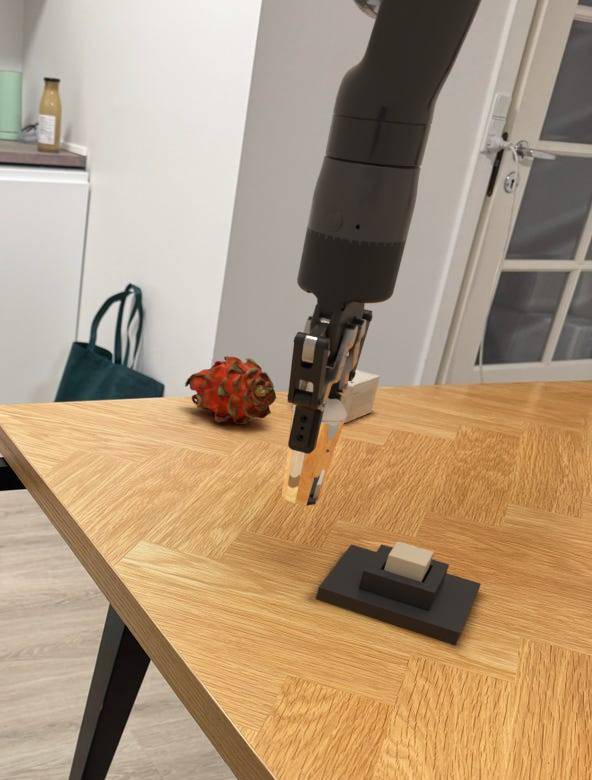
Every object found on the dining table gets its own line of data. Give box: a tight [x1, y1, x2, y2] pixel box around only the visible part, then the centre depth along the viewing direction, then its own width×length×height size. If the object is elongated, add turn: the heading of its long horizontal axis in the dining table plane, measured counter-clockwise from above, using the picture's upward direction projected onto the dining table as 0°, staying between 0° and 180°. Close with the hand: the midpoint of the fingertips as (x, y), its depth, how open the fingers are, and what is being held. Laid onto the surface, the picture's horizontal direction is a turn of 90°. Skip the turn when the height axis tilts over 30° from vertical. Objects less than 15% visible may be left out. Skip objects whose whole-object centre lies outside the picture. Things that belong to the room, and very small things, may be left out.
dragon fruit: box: [183, 355, 277, 425], centre depth 112 cm, size 8×8×12 cm
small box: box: [306, 368, 381, 424], centre depth 119 cm, size 8×8×5 cm
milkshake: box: [281, 382, 347, 507], centre depth 77 cm, size 5×5×10 cm
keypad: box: [315, 544, 482, 646], centre depth 78 cm, size 12×10×3 cm
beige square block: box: [384, 541, 434, 582], centre depth 77 cm, size 3×3×2 cm
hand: (310, 440), depth 77 cm, fingers closed on milkshake, 4 cm apart
